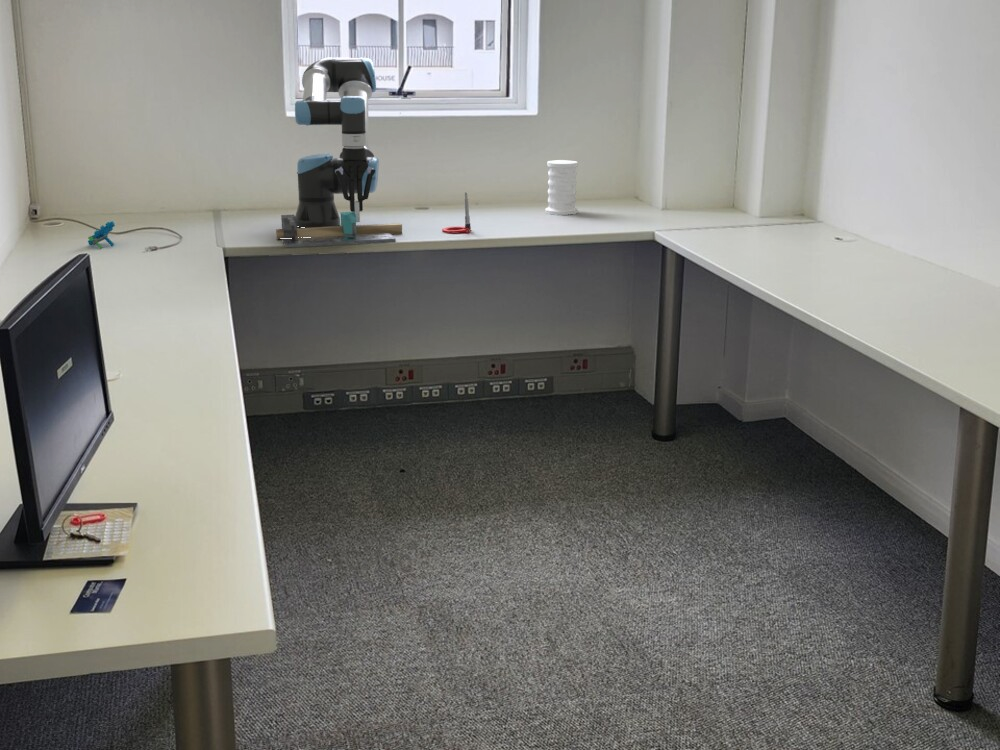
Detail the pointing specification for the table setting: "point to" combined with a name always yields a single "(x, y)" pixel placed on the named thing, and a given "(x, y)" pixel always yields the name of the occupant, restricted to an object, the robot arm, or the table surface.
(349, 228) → the sliding jaw
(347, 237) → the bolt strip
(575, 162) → the decorative container
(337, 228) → the gauge rail
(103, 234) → the blue blocky piece
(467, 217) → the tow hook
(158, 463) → the table surface
